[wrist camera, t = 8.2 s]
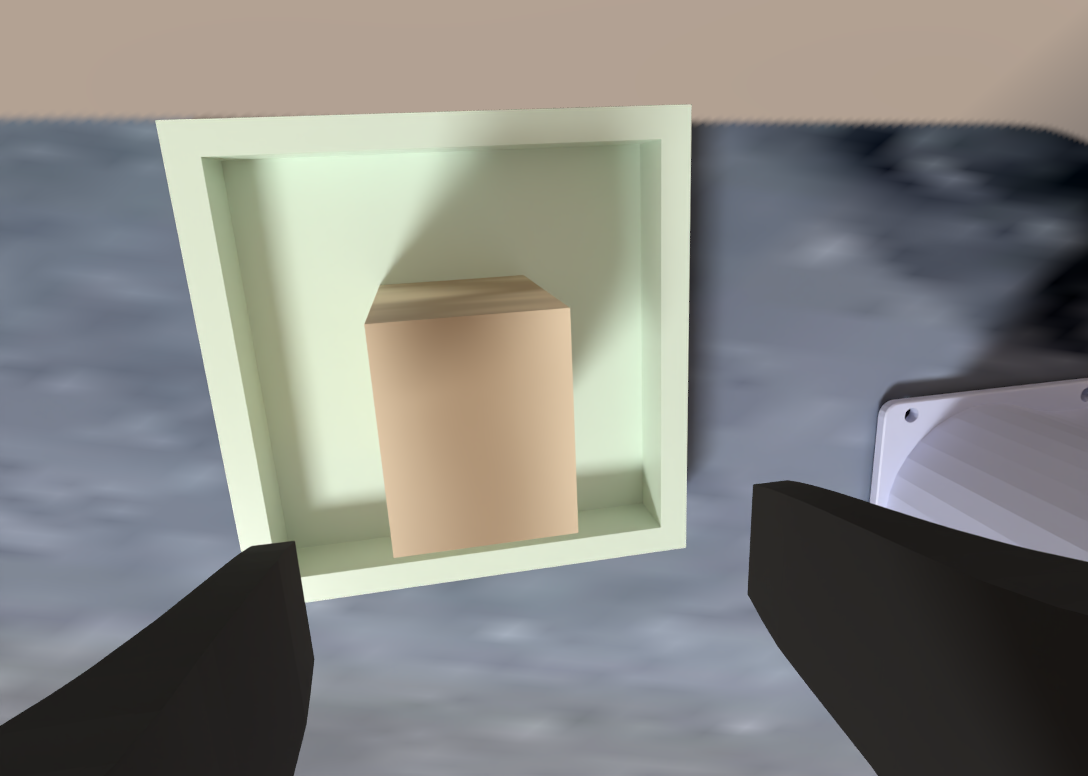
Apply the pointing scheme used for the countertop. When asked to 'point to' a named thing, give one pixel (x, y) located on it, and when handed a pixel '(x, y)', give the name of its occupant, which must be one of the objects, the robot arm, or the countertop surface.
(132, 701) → the robot arm
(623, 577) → the countertop surface
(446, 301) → the block
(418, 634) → the countertop surface
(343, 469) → the tray
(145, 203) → the countertop surface
